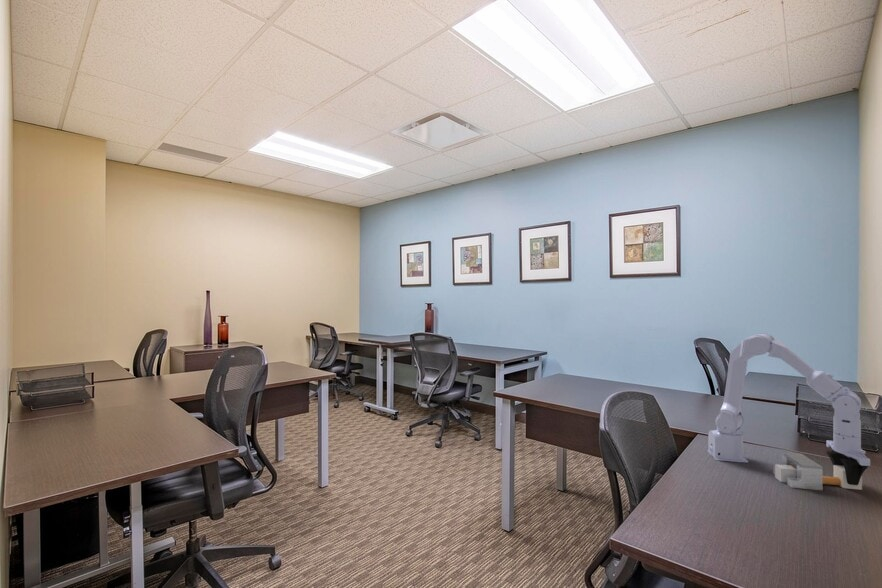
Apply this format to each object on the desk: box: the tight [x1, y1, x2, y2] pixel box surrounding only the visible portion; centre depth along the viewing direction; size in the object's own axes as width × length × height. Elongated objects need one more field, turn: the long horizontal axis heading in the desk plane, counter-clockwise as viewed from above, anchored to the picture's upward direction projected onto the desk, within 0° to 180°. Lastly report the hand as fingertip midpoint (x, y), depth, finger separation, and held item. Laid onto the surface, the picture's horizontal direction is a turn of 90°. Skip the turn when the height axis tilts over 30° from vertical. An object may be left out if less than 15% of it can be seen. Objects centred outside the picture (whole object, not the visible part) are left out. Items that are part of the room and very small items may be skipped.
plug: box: [774, 463, 863, 490], centre depth 121 cm, size 20×4×5 cm, turn 76°
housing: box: [772, 451, 824, 491], centre depth 123 cm, size 8×10×7 cm
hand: (847, 480), depth 120 cm, fingers closed on plug, 4 cm apart
